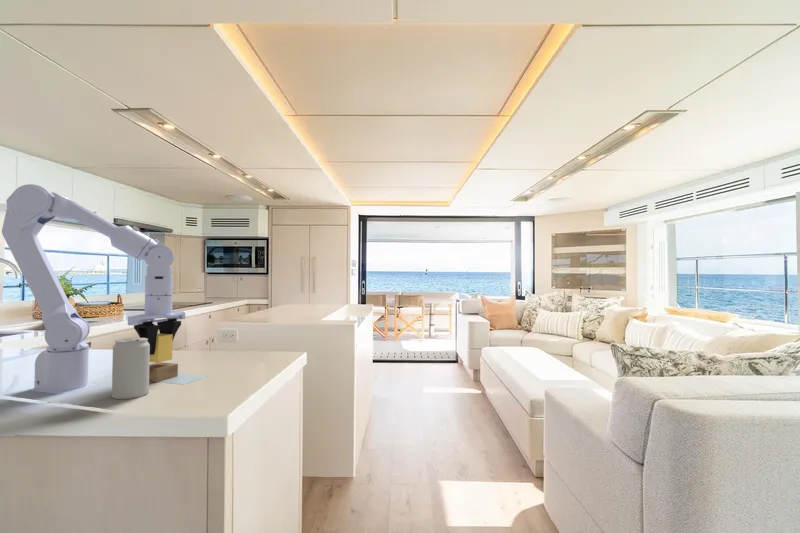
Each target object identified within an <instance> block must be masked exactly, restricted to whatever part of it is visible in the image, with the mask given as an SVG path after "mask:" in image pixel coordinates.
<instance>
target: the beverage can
mask: <svg viewBox="0 0 800 533" xmlns="http://www.w3.org/2000/svg"><path fill="white" fill-rule="evenodd" d="M147 340H148V338H140V337H129V338H120V339H115V341H114V343H115V344H114V345H113V346H112V366H111V368H112V371H111V372H112V373H111V375H112V376H111V381H112V382H111V397H112V398H113V399H115V400H129V399H130V400H131V399H137V398H141V397H143V396H146V395H148V394H149V392H150V382H149V364H150V362H149V357H150V344H149V343H148V342H147Z"/></svg>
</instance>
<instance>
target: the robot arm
mask: <svg viewBox="0 0 800 533" xmlns="http://www.w3.org/2000/svg"><path fill="white" fill-rule="evenodd" d="M5 201H6V209H5V210H6V211H5V215H4V220H3V222H2V223H3V224H2V228H1V235H2V237H3V239H4V240H5V243H6V245H7V246H8V249H9V250H10V253H11V255H12V256H13V258H14V260H15V262H16V264H17V266H18V268H19V270H20V272H21V273H22V276H23V277H24V280H25V282H26V284H27V285H28V287H29V289H30V291H31V294H32V295H33V297H34V300H35V301H36V303H37V305H38V307H39V310H40V311H41V322H42V323H43V325H44V328H45V332H44V341H45V343H46V344H47V346H46V349H44V350H43V351H41V352H40V353H39V354H38V355H37V357H36V359H35V361H34V383H33V384H34V385H33V386H34V388H32V389H31V388H30V389H29V391H33V392H42V393H49V394H59V395H61V394H66V393H67V394H68V393H71V392H75V391H78V390H81V389H86V388H89V387H93V386H97V385H98V383H93V382H89V355H90V354H89V351H90V347H89V346H90V345H89V344H88V343H87V342H86V338H87V337H89V334H90V331H91V327H90V324H89V322H88V321H87V319H85V318H83V317H81V316H80V315H79V313H78V311H77V309H76V308H75V307H74V306H73V305H72V303H71V302H70V301H69V298H68V297H67V295H66V293H65V290H64V289H63V286H62V284H61V282H60V280H59V279H58V276H57V274H56V273H55V270H54V268H53V266H52V264H51V262H50V260H49V258H48V257H47V254H46V252H45V251H44V249H43V248H44V247H43V246H42V244H41V242H40V240H39V239H38V234H39V233H40V232H41V230H42V229H43V228H44V226H45V225H46V224H47V223H49V222H50V221H51V220H53V219H55V218H58V219H60V220H74V221H76V222H78V223H80V224H82V225H84V226H86V227H88V228H90V229H93V230H94V231H96V232H97V233H100V234H102V235H104V236H106V237H108V238H109V240H110V244H111V246H112V247H113V248H115V249H116V250H118V251H120V252H123V253H124V254H126V255H129V257H132V258H134V259H135V260H138V261H144V262H145V263H146V275H145V279H144V283H145V284H144V313H142V314H136V315H131V316H127V326H133V329H134V330H135V332H136V333H137V335H138V336H139V337H138V338H148V340H147V342H148V343H149V344H150V355H153V354H154V353H155V347H156V337H157V334H159V333H161V334H173V340H174V339H175V337H176V334H177V332H178V330H179V329H180V327H181V326H182V320H186V311H183V310H178V311H173V296H174V295H173V290H174V289H173V288H174V285H173V284H174V276H173V275H172V274H173V267H172V264H173V263H174V260H175V256H174V254H173V251H172V250H171V249H170V248H169V247H167V245H163V244H159V243H160V240H158V239H157V238H154V239H153V238H151V237H149V236H147V235H146V234H144V233H142V232H141V231H140V228H139V227H137V226H135V225H134V226H132V227H131V226H130V225H121V226H117V224H114V223H112V222H111V221H109V220H107V219H105V218H104V217H102V216H100V215H98V214H97V213H95V212H94V211H92V210H90V209H89V208H87V207H85V206H84V205H82V204H80V203H78V202H76V201H75V200H72V199H71V198H67V197H66V196H63V195H61V194H59V193H57V192H54V191H51V192H50V191H49V190H47V189H46V188H45V187H42V186H41V185H37V184H34V183H33V184H31V183H29V184H28V183H27V184H24V185H21V186H19V187H18V186H17V188H16V189H14V191H12V193H11V194H10V195H9V196H8V198H7V199H6V200H5ZM155 323H156V324H155Z"/></svg>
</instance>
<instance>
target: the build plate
mask: <svg viewBox="0 0 800 533" xmlns="http://www.w3.org/2000/svg"><path fill="white" fill-rule="evenodd" d="M207 377H209V375H203V374H193V373H190V374H189V373H180V372H178V376H177V377H173V378H170V379H166V380H163V381H160V382H159V383H165V384H166V383H167V384H174V385H175V384H176V385H187V384H189V383H192V382H196V381H198V380H201V379H204V378H207Z"/></svg>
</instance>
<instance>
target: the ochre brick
mask: <svg viewBox="0 0 800 533" xmlns="http://www.w3.org/2000/svg"><path fill="white" fill-rule="evenodd" d="M173 342H174V339H173V334H161V333H160V332H158V333H157V337H156V347H155V353H154V354H153V355H150V357H149V363H158V362H163V363H164V362H166V361H171V360H173Z"/></svg>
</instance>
